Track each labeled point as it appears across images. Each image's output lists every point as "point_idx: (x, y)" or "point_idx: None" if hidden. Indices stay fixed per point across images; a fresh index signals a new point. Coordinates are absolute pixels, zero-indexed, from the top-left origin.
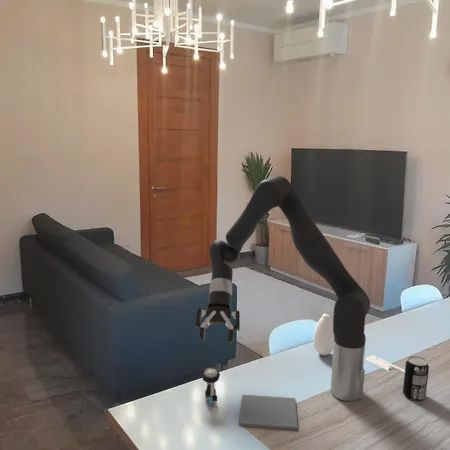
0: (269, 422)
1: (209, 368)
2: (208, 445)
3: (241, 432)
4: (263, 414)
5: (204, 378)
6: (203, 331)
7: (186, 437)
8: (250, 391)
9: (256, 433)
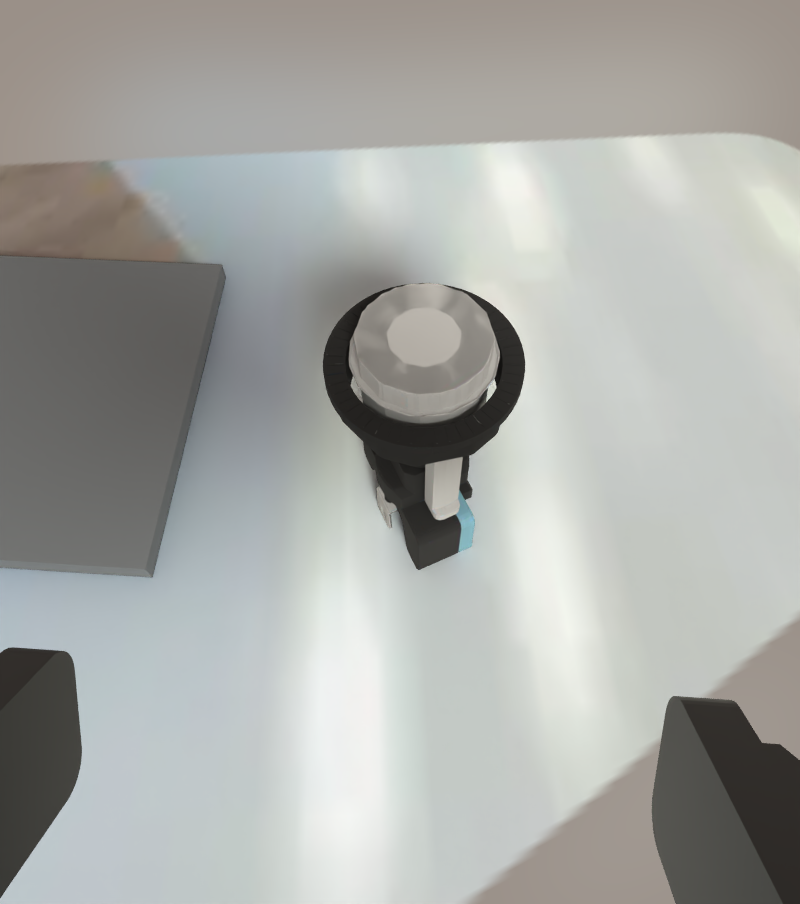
0: (27, 276)
1: (445, 385)
2: (405, 147)
3: (220, 231)
4: (40, 344)
5: (484, 308)
6: (776, 841)
7: (531, 185)
8: None
9: (134, 228)
